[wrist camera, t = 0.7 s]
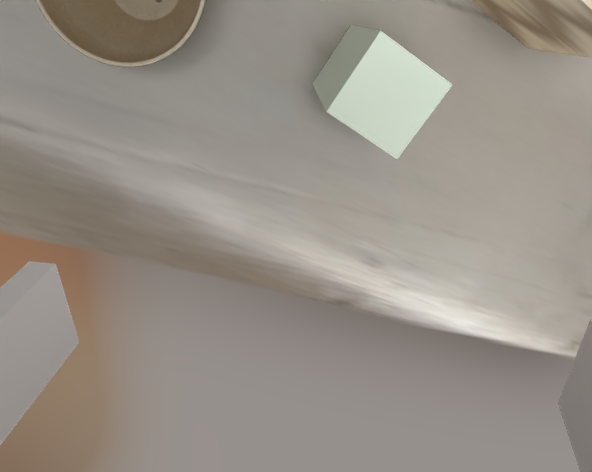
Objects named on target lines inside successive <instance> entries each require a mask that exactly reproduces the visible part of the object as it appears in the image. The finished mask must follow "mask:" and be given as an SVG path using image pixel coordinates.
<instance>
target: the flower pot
mask: <svg viewBox="0 0 592 472" xmlns="http://www.w3.org/2000/svg"><path fill="white" fill-rule="evenodd" d="M205 1H206V0H36V2H37V4H38V6H39V8H40V10H41V12H42V14H43V15H44V17H45V18H46V20H47V21H48V22H49V24H50V25H51V26H52V28H53V29H54V30H55V31H56V32H57V33H58V35H59V36H60V37H61V38H63V39H64V40H65V41H66V42H67V43H68V44H69V45H71V46H72V47H73V48H75V49H76V50H77V51H79V52H81V53H82V54H84V55H86V56H88V57H90V58H92V59H94V60H97V61H99V62H102V63H106V64H109V65H114V66H121V67H137V66H143V65H148V64H152V63H155V62H157V61H160V60H162V59H164V58H166V57H167V56H169V55H171V54H172V53H174V52H175V51H176V50H177V49H179V48H180V47H181V46H182V45H183V44H184V43H185V42H186V41H187V39H188V38H189V37H190V35H191V34H192V33H193V31H194V29H195V28H196V26H197V24H198V22H199V20H200V18H201V15H202V12H203V9H204V5H205Z"/></svg>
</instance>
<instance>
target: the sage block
mask: <svg viewBox="0 0 592 472" xmlns="http://www.w3.org/2000/svg"><path fill="white" fill-rule="evenodd" d="M312 86H313V88H314V90H315V91H316V93H317V95H318V97H319V99H320V101H321V103H322V104H323V106H324V108H325V110H326V112H328V113H329V114H331V115H332V116H334V117H335V118H336V119H338V120H339V121H341V122H342V123H344V124H345V125H347V126H348V127H350V128H351V129H353V130H354V131H356V132H357V133H359V134H360V135H362V136H363V137H365V138H366V139H368V140H369V141H371V142H372V143H373V144H375V145H376V146H378V147H379V148H381V149H382V150H384V151H385V152H387V153H388V154H390V155H391V156H393V157H394V158H396V159H397V158H398V157H399V156H400V154H401V153H402V152H403V150H404V149H405V148H406V146H407V145H408V144H409V142H410V141H411V140H412V138H413V137H414V136H415V134H416V133H417V132H418V130H419V129H420V128H421V126H422V125H423V124H424V122H425V121H426V120H427V118H428V117H429V116H430V114H431V113H432V112H433V110H434V109H435V108H436V106H437V105H438V104H439V102H440V101H441V100H442V98H443V97H444V96H445V94H446V93H447V92H448V90H449V89H450V88H451V86H452V84H451V83H450V82H448V81H447V80H446V79H444V78H443V77H442V76H440V75H439V74H438V73H436V72H435V71H434V70H432V69H431V68H430V67H428V66H427V65H426V64H424V63H423V62H422V61H420V60H419V59H418V58H416V57H415V56H414V55H412V54H411V53H410V52H408V51H407V50H406V49H404V48H403V47H402V46H400V45H399V44H398V43H396V42H395V41H394V40H392V39H391V38H390V37H388V36H387V35H386V34H384V33H383V32H382V31H380V30H375V29H370V28H365V27H360V26H355V25H350V27H349V28H348V30H347V31H346V33H345V35H344V36H343V38H342V39H341V41H340V42H339V44H338V45H337V47H336V48H335V50H334V51H333V53H332V55H331V56H330V58H329V59H328V61H327V62H326V64H325V65H324V67H323V68H322V70H321V72H320V73H319V75H318V76H317V78H316V79H315V81H314V82H313V84H312Z"/></svg>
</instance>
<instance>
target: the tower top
mask: <svg viewBox="0 0 592 472" xmlns="http://www.w3.org/2000/svg"><path fill="white" fill-rule="evenodd" d="M514 1H515V2H516V3H517V4H518V5H520V6H521V7H522V8H523V9H524V10H526V11H527V12H528V13H529V14H530V15H532V16H533V17H534V18H535V19H536V20H537V21H539V22H540V23H541V24H542V25H543V26H545V27H546V28H547V29H548V30H549V31H551V32H552V33H553V34H554V35H555V36H557V37H558V38H559V39H560V40H561V41H562V42H564V43H565V44H566V45H567V46H568V47H570V48H571V49H572V50H573V51H574V52H576V53H577V54H578V55H579V56H583V57H589V58H592V0H514Z"/></svg>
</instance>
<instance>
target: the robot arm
mask: <svg viewBox="0 0 592 472" xmlns="http://www.w3.org/2000/svg"><path fill="white" fill-rule="evenodd" d="M78 343H79V339H78V336H77V332H76V329H75V326H74V323H73V319H72V316H71V313H70V309H69V306H68V303H67V299H66V296H65V293H64V289H63V286H62V283H61V279H60V276H59V273H58V270H57V266H56V264H52V263H42V262H33V261H29V262H28V263H27V264H26V265H25V266H24V267H23V268H21V269H20V270H19V271H18V272H17V273H16V274H15V275H14V276H13V277H12V278H10V279H9V280H8V281H7V282H6V283H5V284H4V285H3V286H2V287H1V288H0V445H1V444H2V442H3V441H4V440H5V438H6V437H7V436H8V435H9V433H10V432H11V431H12V429H13V428H14V427H15V425H16V424H17V423H18V421H19V420H20V419H21V418H22V416H23V415H24V414H25V412H26V411H27V409H28V408H29V407H30V406H31V405H32V403H33V402H34V401H35V399H36V398H37V396H38V395H39V394H40V393H41V391H42V390H43V389H44V388H45V386H46V385H47V384H48V382H49V381H50V379H51V378H52V377H53V376H54V374H55V373H56V372H57V371H58V369H59V368H60V367H61V365H62V364H63V363H64V361H65V360H66V359H67V357H68V356H69V355H70V353H71V352H72V351H73V350H74V348H75V347H76V346H77V344H78ZM558 405H559V408H560V411H561V414H562V417H563V420H564V424H565V426H566V429H567V433H568V436H569V439H570V441H571V445H572V448H573V451H574V454H575V457H576V460H577V463H578V466H579V470H580V472H592V320H590V321H589V324H588V327H587V329H586V332H585V334H584V337H583V340H582V342H581V345H580V347H579V350H578V352H577V355H576V358H575V360H574V363H573V365H572V368H571V371H570V373H569V376H568V378H567V381H566V383H565V386H564V389H563V391H562V394H561V396H560V399H559V402H558Z"/></svg>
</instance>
